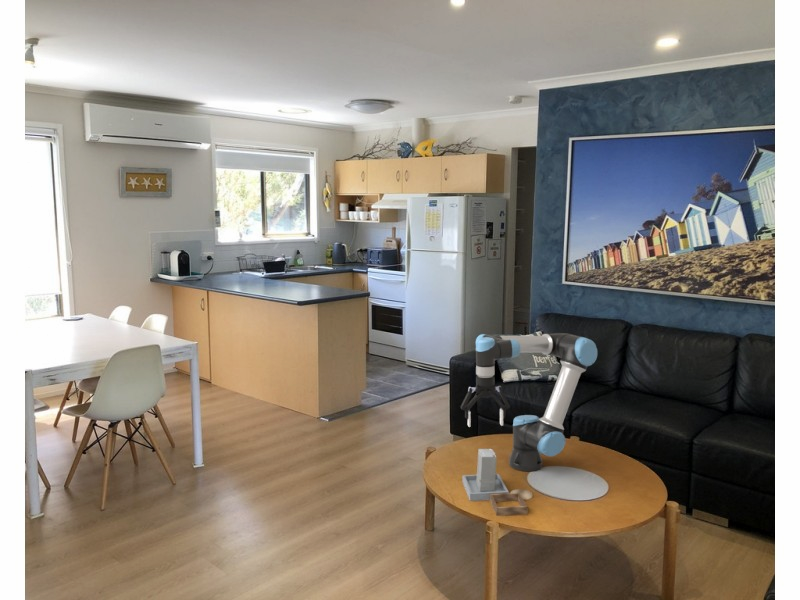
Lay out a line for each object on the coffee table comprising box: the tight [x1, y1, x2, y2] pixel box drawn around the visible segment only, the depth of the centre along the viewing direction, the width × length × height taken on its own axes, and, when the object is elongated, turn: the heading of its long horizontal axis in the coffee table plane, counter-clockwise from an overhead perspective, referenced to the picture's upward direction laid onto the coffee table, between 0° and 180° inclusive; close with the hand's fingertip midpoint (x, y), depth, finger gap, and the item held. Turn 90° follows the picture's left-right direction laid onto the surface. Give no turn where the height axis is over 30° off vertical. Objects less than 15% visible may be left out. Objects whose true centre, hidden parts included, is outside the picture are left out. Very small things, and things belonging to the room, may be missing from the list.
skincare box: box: [476, 448, 498, 492], centre depth 255 cm, size 8×7×16 cm
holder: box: [489, 492, 528, 516], centre depth 241 cm, size 12×12×3 cm
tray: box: [461, 473, 510, 502], centre depth 256 cm, size 16×18×3 cm
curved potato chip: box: [509, 488, 534, 501], centre depth 251 cm, size 9×9×1 cm
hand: (485, 425), depth 253 cm, fingers open, 13 cm apart
